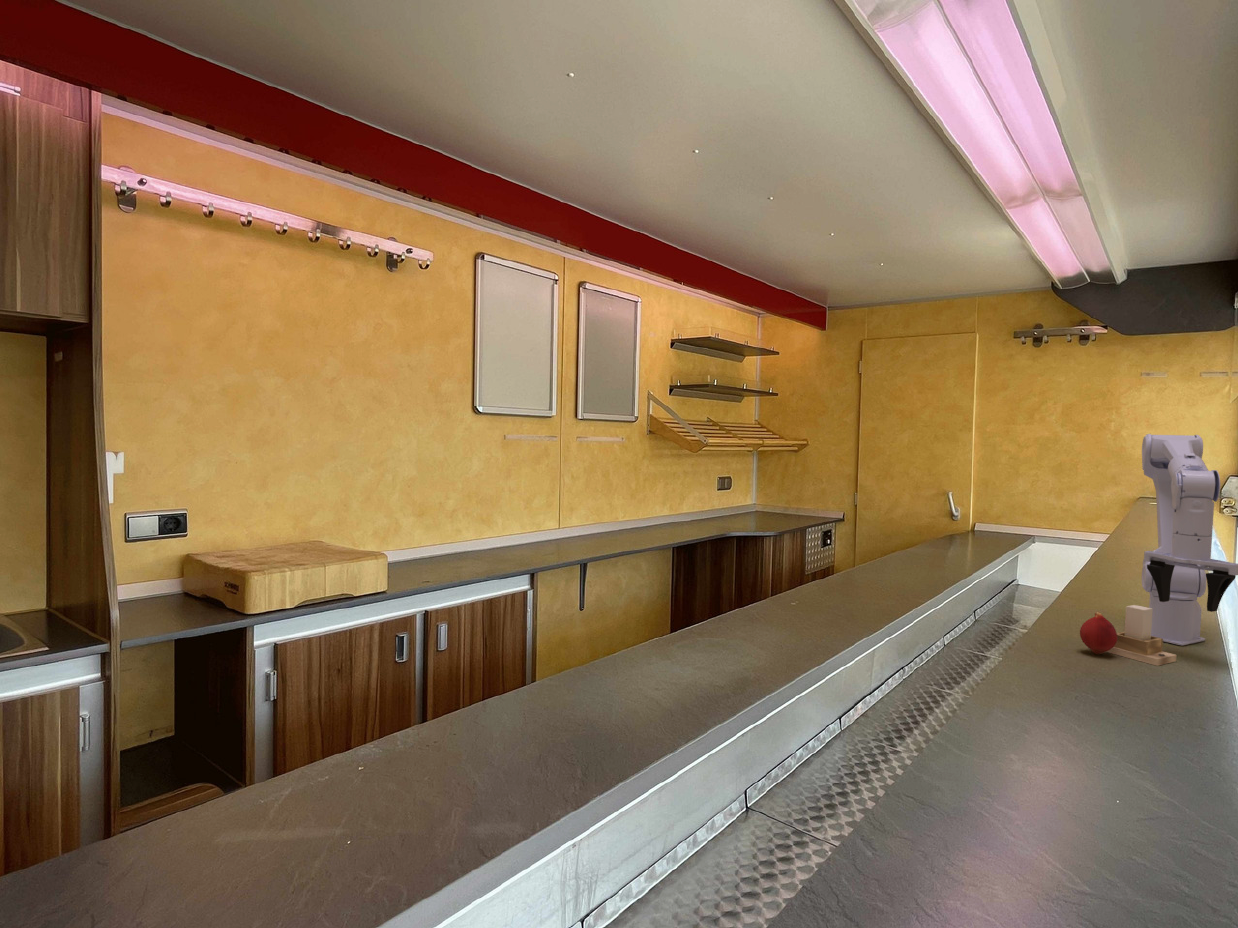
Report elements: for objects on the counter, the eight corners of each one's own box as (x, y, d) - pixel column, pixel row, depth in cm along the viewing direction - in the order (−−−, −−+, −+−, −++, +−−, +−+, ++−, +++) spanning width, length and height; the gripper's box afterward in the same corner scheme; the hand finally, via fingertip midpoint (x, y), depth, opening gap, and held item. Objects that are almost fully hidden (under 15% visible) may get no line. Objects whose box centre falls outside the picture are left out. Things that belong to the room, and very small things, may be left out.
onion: (1104, 650, 135) (1107, 609, 134) (1123, 659, 129) (1125, 617, 129) (1072, 648, 135) (1075, 607, 135) (1089, 658, 130) (1092, 615, 129)
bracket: (1117, 645, 138) (1118, 627, 138) (1176, 661, 129) (1177, 641, 129) (1098, 649, 135) (1099, 630, 135) (1157, 665, 126) (1158, 645, 126)
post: (1132, 645, 134) (1134, 604, 133) (1150, 650, 131) (1152, 608, 131) (1123, 647, 132) (1126, 606, 132) (1141, 652, 130) (1143, 610, 129)
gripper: (1137, 529, 135) (1132, 598, 135) (1229, 541, 122) (1224, 617, 122) (1156, 528, 138) (1152, 595, 138) (1248, 539, 125) (1243, 613, 125)
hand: (1187, 605), depth 131 cm, fingers open, 7 cm apart
